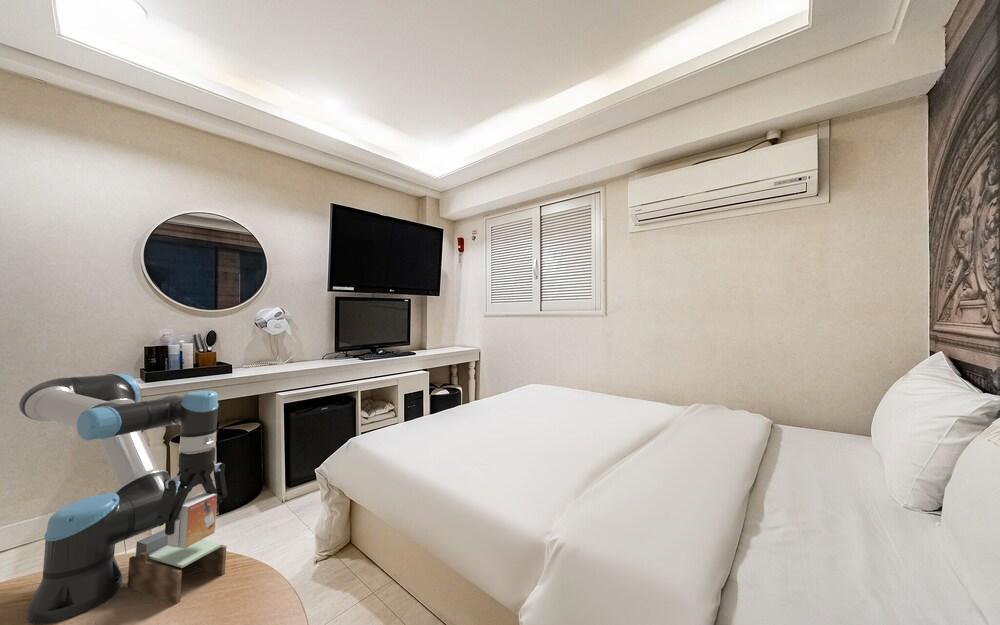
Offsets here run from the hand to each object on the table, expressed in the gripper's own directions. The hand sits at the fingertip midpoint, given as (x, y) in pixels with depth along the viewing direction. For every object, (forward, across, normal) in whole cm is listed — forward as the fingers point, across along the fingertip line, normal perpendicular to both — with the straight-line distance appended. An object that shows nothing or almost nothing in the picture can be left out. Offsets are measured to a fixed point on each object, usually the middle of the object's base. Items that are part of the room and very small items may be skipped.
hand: (192, 536), depth 95 cm
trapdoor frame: (+12, 0, +5) cm, 13 cm away
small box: (+1, 0, 0) cm, 1 cm away
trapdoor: (+7, 0, +5) cm, 9 cm away
